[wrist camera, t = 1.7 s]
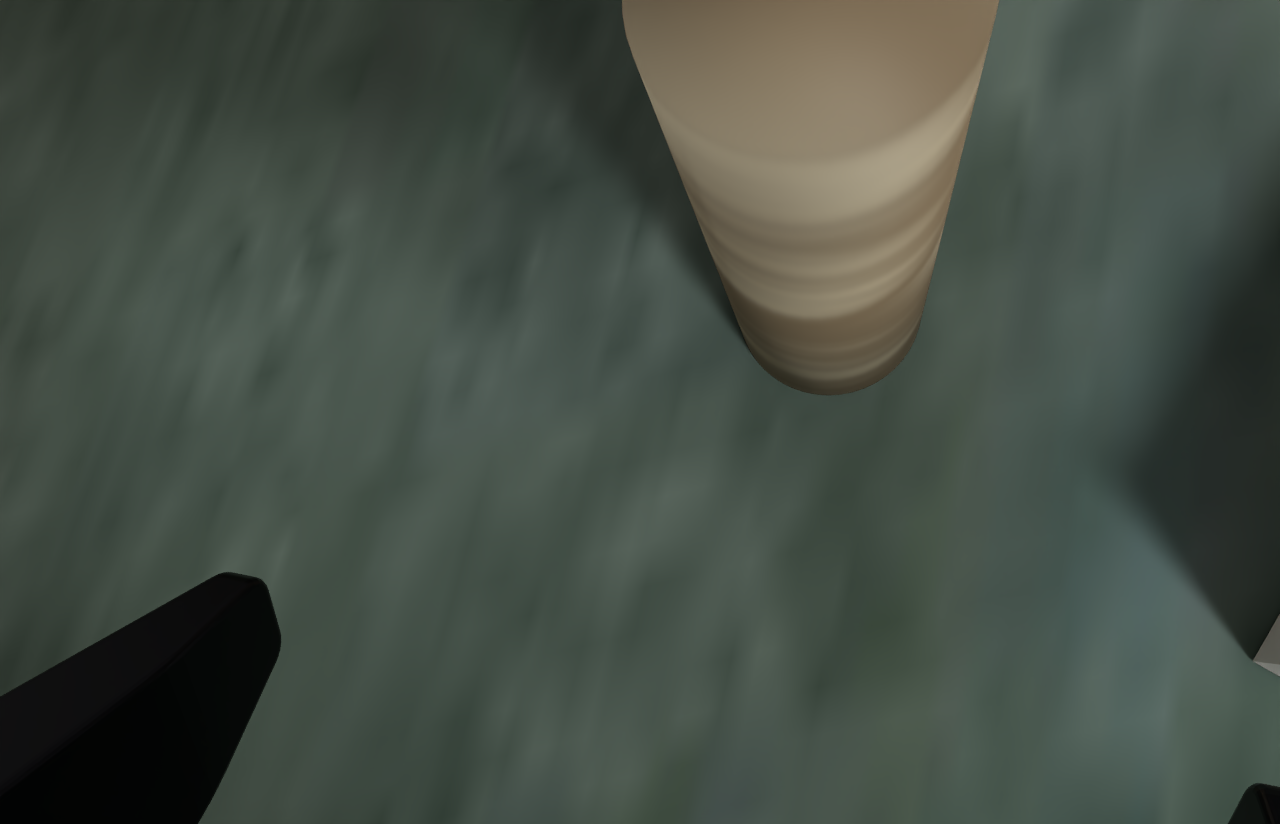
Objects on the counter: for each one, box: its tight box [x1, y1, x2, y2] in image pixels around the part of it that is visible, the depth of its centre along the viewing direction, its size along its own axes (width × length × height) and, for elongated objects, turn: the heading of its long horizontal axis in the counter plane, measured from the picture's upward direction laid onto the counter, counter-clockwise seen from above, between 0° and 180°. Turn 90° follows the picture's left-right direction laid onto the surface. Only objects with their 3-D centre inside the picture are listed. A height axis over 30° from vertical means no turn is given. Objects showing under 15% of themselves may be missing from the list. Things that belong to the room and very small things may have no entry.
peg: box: [622, 0, 999, 395], centre depth 18 cm, size 4×4×13 cm
